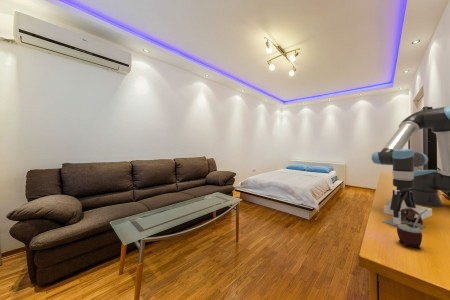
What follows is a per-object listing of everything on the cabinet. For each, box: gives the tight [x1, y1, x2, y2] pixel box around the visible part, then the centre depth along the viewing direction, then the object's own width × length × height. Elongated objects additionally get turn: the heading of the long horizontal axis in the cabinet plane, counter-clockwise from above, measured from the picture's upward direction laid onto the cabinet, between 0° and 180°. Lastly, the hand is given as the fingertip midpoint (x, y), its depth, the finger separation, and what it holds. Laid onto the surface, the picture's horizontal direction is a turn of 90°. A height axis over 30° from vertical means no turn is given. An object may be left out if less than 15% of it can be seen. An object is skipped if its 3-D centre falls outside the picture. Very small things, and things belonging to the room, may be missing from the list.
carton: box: [383, 198, 433, 220], centre depth 101 cm, size 18×14×7 cm
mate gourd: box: [396, 210, 427, 250], centre depth 70 cm, size 8×8×15 cm
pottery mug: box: [400, 208, 424, 226], centre depth 86 cm, size 12×9×8 cm
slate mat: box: [382, 217, 427, 230], centre depth 88 cm, size 12×12×1 cm
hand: (403, 221), depth 88 cm, fingers closed on pottery mug, 11 cm apart
